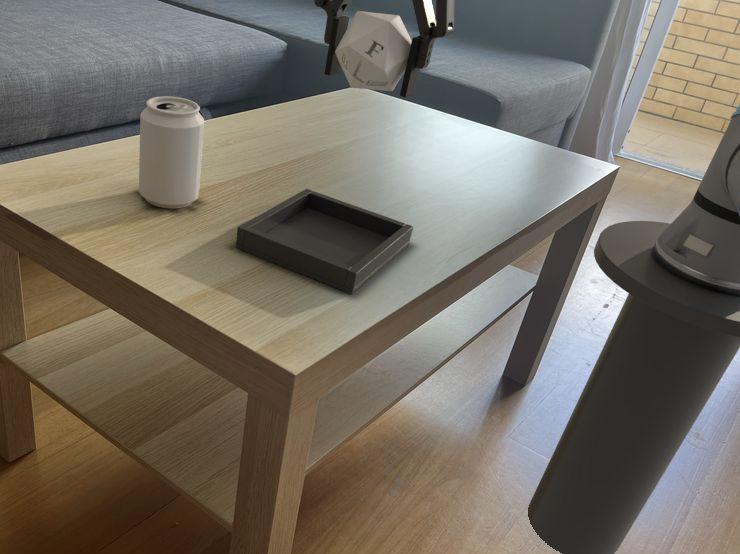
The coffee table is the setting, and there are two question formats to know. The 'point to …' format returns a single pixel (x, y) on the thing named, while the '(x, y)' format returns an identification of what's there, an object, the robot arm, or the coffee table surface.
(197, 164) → the can
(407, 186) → the coffee table surface
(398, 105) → the coffee table surface
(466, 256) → the coffee table surface
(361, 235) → the dark grey shallow tray
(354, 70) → the die
